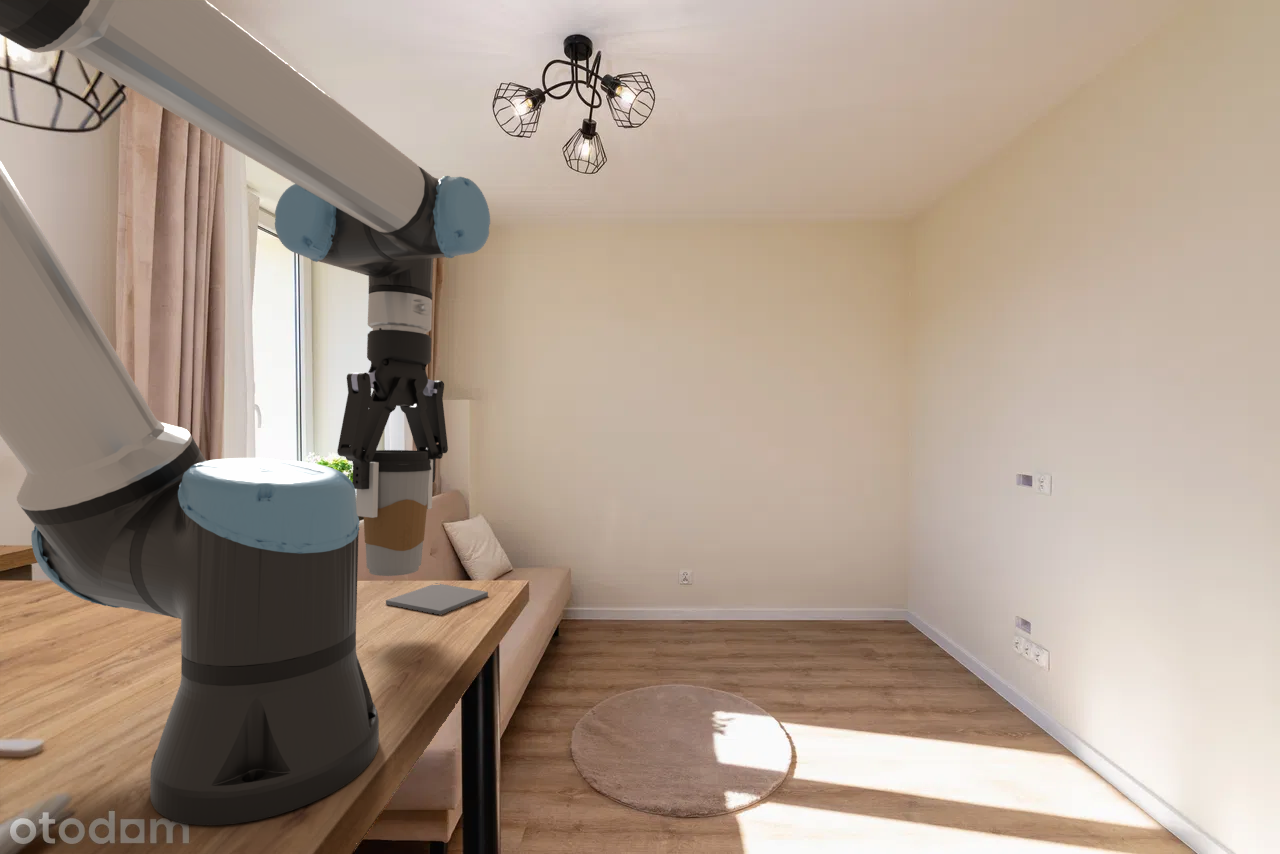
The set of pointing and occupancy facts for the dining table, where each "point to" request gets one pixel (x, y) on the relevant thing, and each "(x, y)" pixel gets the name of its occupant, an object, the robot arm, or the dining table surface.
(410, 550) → the coffee cup
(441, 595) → the coaster
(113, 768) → the dining table surface
